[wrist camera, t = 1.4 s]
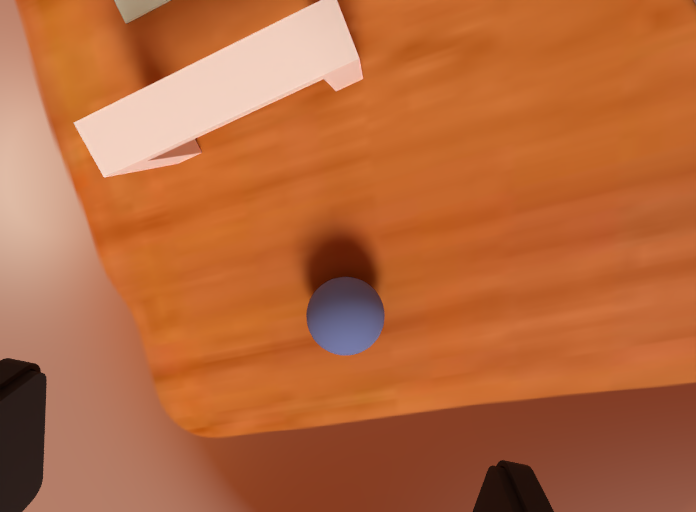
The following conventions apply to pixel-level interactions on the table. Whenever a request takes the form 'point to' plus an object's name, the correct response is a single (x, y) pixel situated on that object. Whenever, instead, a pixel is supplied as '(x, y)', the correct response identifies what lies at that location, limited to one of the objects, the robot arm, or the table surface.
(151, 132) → the bridge
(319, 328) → the ball
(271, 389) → the table surface
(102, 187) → the table surface
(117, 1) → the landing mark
